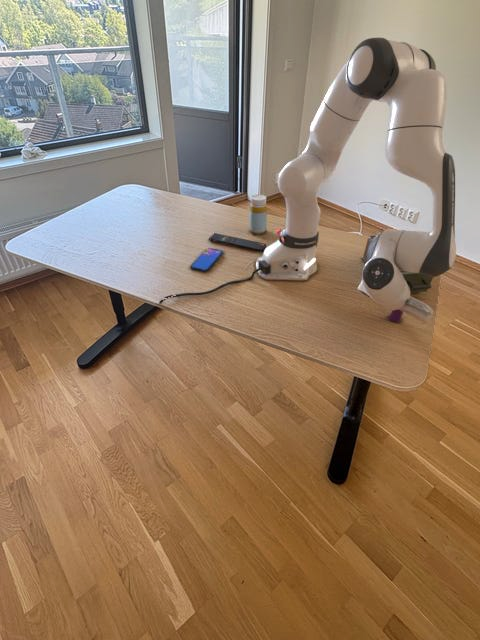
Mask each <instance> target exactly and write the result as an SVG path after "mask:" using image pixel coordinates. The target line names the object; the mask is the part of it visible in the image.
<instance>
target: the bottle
mask: <svg viewBox="0 0 480 640" xmlns="http://www.w3.org/2000/svg"><path fill="white" fill-rule="evenodd" d="M267 217H268V208H267V196H266V195H264V194H252V195H251V197H250V207H249V232H251V234H253V235H257V236H259V235H263V234H265V233H266V232H267V219H268V218H267Z"/></svg>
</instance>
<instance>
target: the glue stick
mask: <svg viewBox="0 0 480 640" xmlns="http://www.w3.org/2000/svg"><path fill="white" fill-rule="evenodd" d="M403 314H404V312H402V311H400V310H398V309H397V310H391V313H390V315H389V320H390V321H392V322H393V323H394V322H395V323H399V322H400V321H401V319H402V318H403V317H402V316H403Z"/></svg>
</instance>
